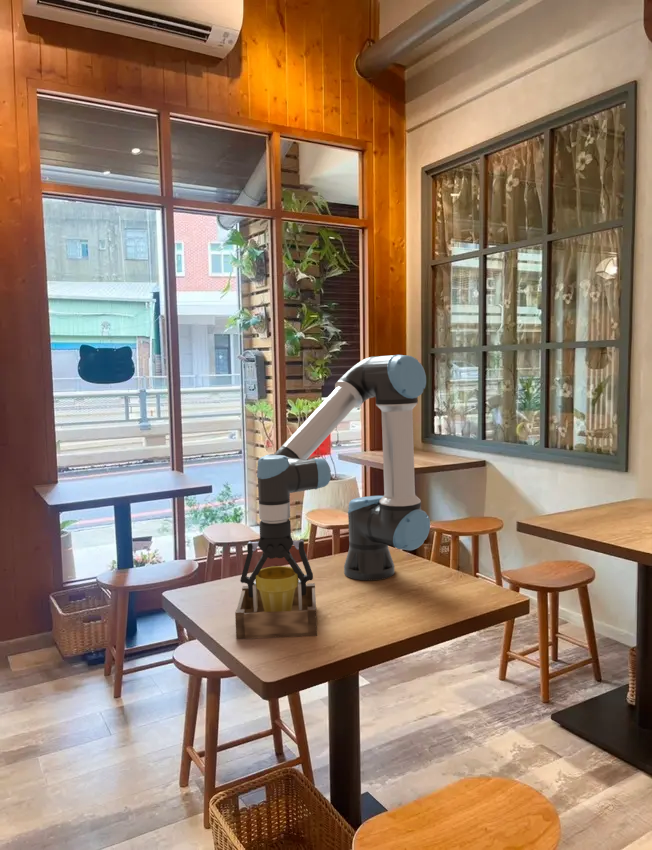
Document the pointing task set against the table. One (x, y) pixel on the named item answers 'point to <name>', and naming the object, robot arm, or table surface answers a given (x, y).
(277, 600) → the plant pot
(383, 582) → the table surface
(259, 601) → the walnut crate
